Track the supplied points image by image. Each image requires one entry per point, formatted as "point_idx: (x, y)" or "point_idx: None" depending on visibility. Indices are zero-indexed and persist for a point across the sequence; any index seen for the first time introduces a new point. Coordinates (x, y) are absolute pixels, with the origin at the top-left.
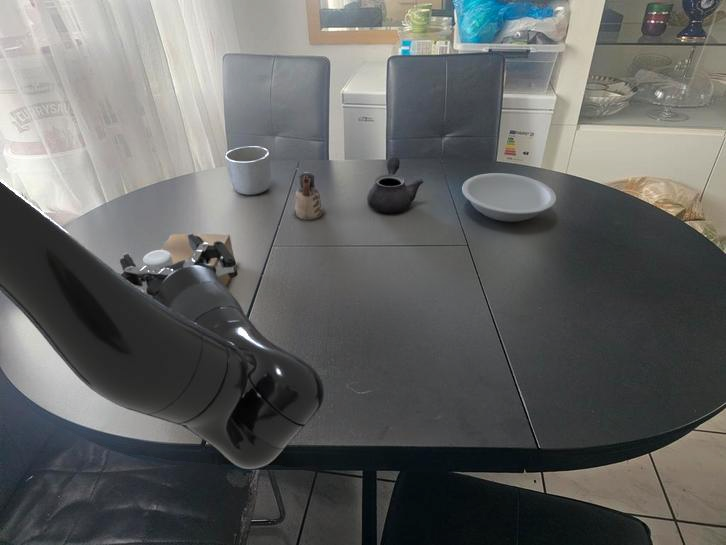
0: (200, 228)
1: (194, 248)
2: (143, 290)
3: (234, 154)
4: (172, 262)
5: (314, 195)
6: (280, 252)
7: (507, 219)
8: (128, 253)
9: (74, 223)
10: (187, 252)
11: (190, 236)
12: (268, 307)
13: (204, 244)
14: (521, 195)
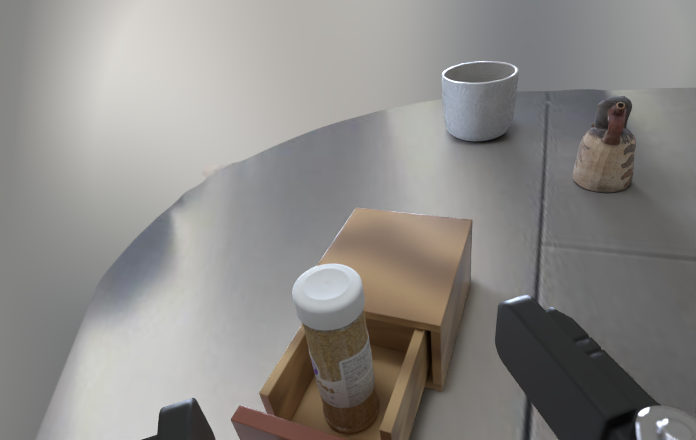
0: (396, 195)
1: (550, 397)
2: (290, 344)
3: (454, 74)
4: (364, 303)
5: (628, 144)
6: (563, 261)
7: None
8: (187, 409)
9: (218, 174)
10: (386, 254)
11: (527, 318)
12: None
13: (690, 437)
14: None
